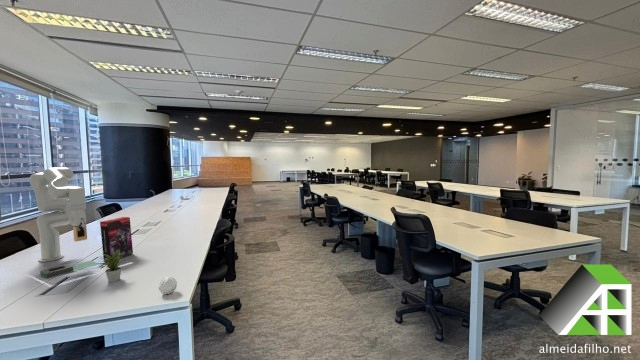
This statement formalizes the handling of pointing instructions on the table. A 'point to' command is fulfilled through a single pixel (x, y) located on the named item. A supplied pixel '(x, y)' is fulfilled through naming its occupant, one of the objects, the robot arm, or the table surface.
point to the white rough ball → (167, 285)
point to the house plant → (112, 267)
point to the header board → (76, 267)
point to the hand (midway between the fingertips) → (79, 236)
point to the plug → (76, 238)
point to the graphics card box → (116, 237)
